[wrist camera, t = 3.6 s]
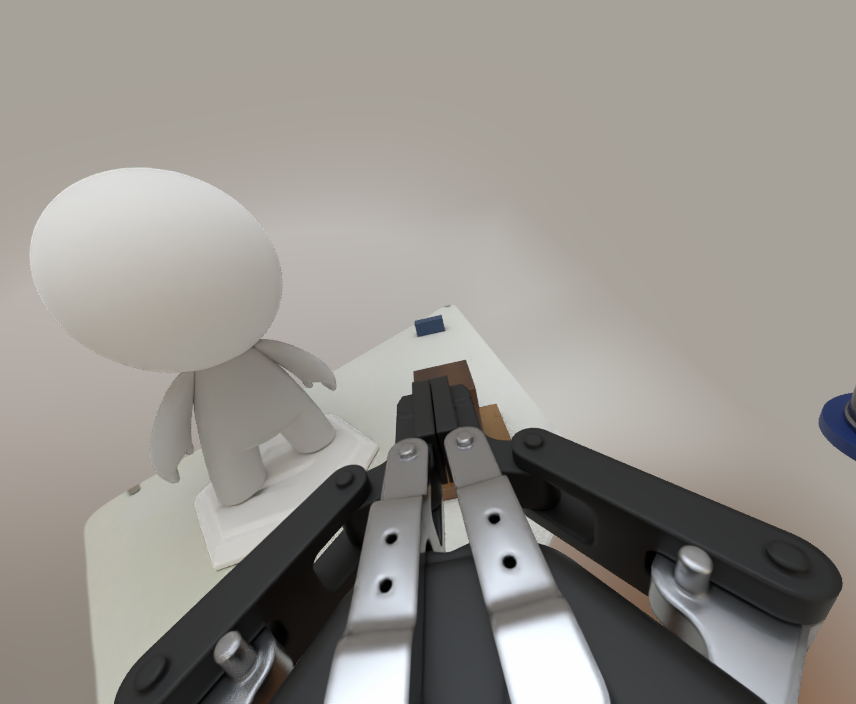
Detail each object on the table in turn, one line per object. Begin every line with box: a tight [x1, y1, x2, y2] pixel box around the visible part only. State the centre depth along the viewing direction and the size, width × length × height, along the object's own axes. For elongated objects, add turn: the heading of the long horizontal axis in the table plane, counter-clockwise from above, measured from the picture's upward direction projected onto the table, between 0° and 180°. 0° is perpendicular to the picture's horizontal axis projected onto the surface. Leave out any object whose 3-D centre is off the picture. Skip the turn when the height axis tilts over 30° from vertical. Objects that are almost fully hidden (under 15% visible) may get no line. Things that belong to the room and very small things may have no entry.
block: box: [414, 360, 511, 500], centre depth 37 cm, size 12×12×10 cm
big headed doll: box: [30, 167, 379, 570], centre depth 35 cm, size 20×23×35 cm
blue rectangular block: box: [415, 315, 445, 337], centre depth 73 cm, size 6×2×3 cm, turn 93°
